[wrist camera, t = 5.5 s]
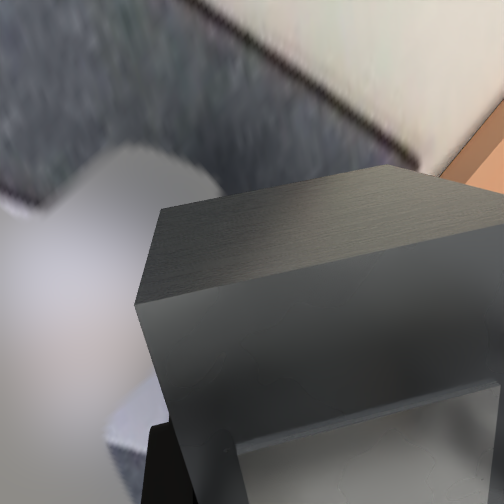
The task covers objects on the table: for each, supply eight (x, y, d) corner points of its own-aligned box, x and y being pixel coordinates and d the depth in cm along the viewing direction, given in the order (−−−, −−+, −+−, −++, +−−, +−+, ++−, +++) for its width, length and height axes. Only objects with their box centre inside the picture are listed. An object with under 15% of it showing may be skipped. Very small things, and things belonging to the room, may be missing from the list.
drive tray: (443, 424, 31) (477, 468, 27) (298, 347, 25) (317, 389, 22) (657, 211, 26) (734, 229, 22) (536, 59, 21) (611, 50, 17)
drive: (394, 458, 14) (500, 635, 9) (237, 501, 13) (265, 713, 9) (386, 164, 10) (572, 211, 5) (161, 209, 9) (133, 308, 5)
